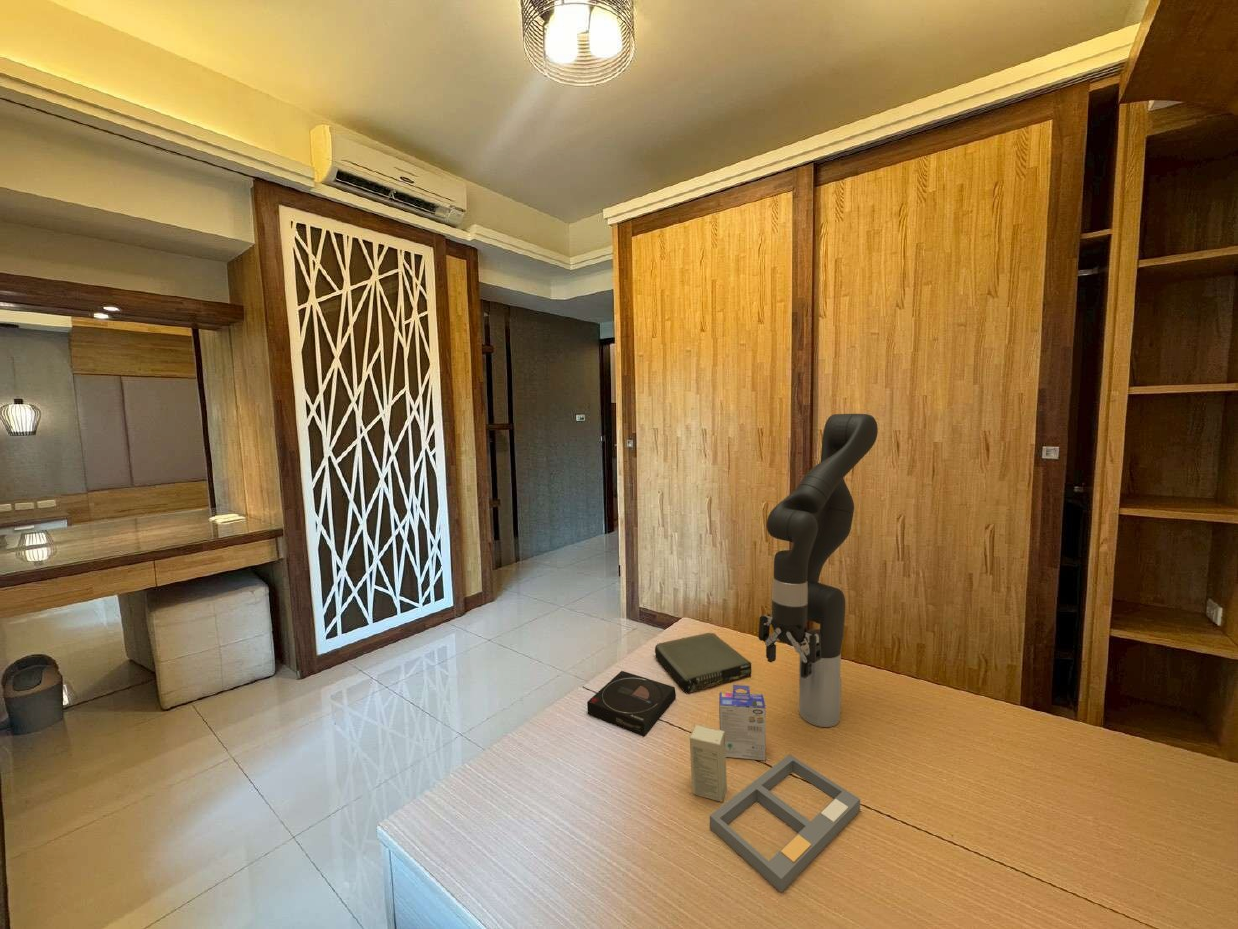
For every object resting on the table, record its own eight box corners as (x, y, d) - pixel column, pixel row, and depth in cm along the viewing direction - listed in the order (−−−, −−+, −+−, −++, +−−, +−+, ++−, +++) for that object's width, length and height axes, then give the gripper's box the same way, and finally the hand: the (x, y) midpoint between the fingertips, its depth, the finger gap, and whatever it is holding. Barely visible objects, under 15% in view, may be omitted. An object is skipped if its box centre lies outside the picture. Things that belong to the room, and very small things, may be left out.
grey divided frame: (789, 764, 101) (789, 752, 101) (860, 811, 89) (860, 797, 89) (709, 828, 87) (709, 814, 86) (781, 893, 74) (781, 877, 74)
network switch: (692, 701, 125) (691, 683, 124) (646, 661, 145) (645, 645, 145) (758, 676, 135) (758, 659, 135) (707, 641, 156) (707, 627, 155)
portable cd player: (676, 700, 126) (675, 685, 125) (644, 738, 111) (644, 723, 111) (623, 682, 134) (622, 669, 134) (587, 716, 120) (587, 701, 120)
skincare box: (727, 787, 96) (726, 731, 94) (722, 803, 92) (721, 745, 90) (696, 778, 98) (695, 723, 97) (690, 793, 94) (689, 736, 93)
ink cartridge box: (763, 744, 107) (763, 683, 106) (767, 761, 102) (767, 698, 100) (719, 740, 109) (718, 681, 108) (720, 757, 104) (719, 695, 102)
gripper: (829, 604, 102) (826, 676, 103) (772, 586, 113) (770, 651, 114) (809, 613, 97) (807, 688, 99) (752, 593, 108) (751, 661, 110)
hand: (787, 668), depth 106 cm, fingers open, 8 cm apart
